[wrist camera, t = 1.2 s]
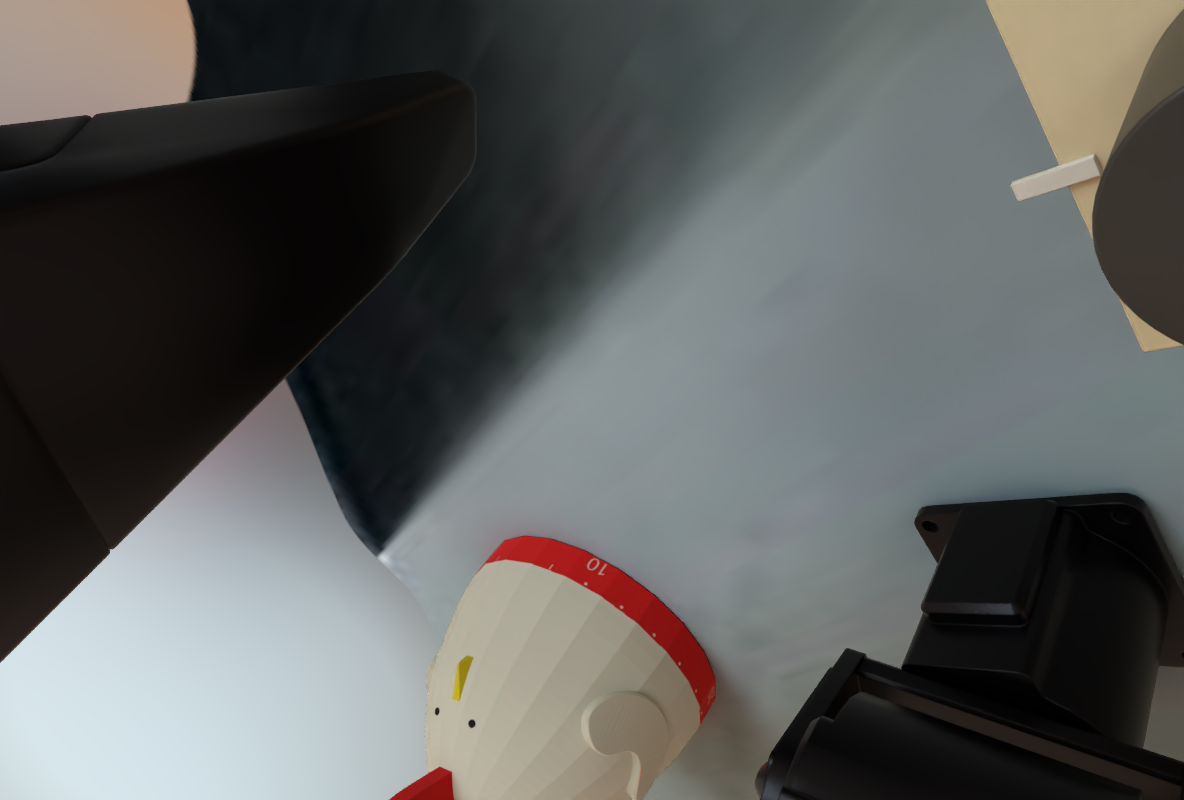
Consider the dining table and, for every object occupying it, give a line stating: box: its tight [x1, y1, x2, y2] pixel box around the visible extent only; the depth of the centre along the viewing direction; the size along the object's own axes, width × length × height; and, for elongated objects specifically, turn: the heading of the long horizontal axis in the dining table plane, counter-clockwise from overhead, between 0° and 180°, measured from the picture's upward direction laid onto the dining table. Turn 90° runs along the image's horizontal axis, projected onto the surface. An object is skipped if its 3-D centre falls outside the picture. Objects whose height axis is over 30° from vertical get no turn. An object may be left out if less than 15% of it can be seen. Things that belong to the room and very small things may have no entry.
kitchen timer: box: [390, 536, 715, 800], centre depth 42 cm, size 14×14×15 cm
